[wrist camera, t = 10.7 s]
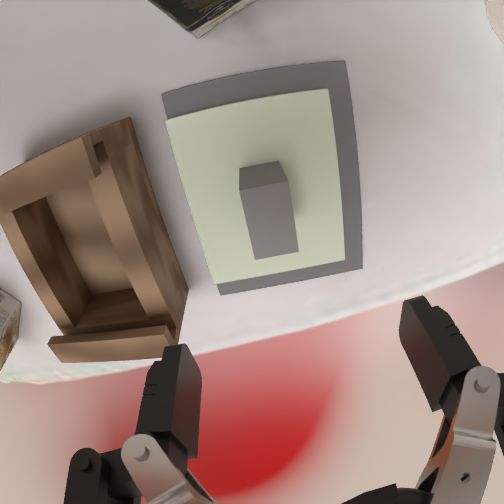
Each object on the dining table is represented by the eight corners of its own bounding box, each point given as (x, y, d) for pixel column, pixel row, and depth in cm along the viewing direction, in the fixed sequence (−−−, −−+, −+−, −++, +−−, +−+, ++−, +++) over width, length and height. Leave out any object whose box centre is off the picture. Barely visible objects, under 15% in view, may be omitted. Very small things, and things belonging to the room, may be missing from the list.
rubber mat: (162, 93, 21) (161, 93, 21) (343, 60, 20) (345, 60, 20) (220, 292, 31) (220, 295, 30) (361, 266, 30) (362, 268, 29)
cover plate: (167, 118, 22) (145, 131, 16) (324, 88, 21) (350, 91, 16) (214, 277, 29) (209, 322, 24) (342, 254, 28) (362, 294, 23)
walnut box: (23, 162, 22) (-34, 197, 15) (130, 116, 22) (81, 137, 14) (89, 305, 31) (61, 362, 24) (188, 289, 30) (175, 356, 23)
